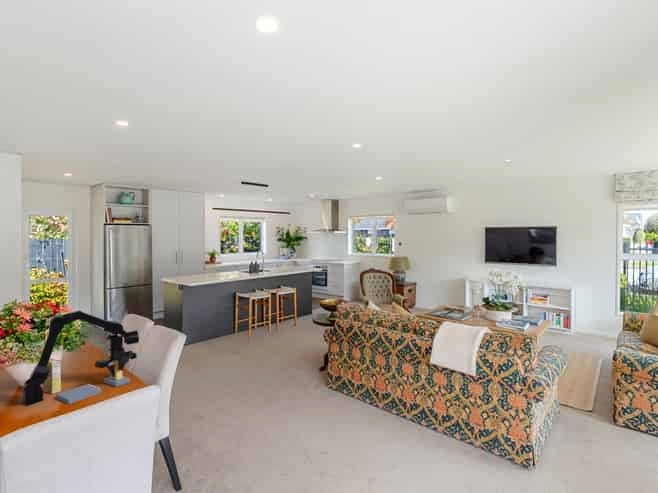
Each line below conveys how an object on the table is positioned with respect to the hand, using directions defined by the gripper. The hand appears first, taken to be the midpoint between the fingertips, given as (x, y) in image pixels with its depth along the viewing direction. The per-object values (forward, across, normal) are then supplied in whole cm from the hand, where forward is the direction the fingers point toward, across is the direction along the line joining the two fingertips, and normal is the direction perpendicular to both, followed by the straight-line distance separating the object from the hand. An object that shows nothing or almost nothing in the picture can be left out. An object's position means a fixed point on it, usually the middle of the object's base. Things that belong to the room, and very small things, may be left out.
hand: (116, 375), depth 183 cm
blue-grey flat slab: (+4, -18, 0) cm, 18 cm away
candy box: (+4, -22, +18) cm, 28 cm away
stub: (+3, 0, 0) cm, 3 cm away
